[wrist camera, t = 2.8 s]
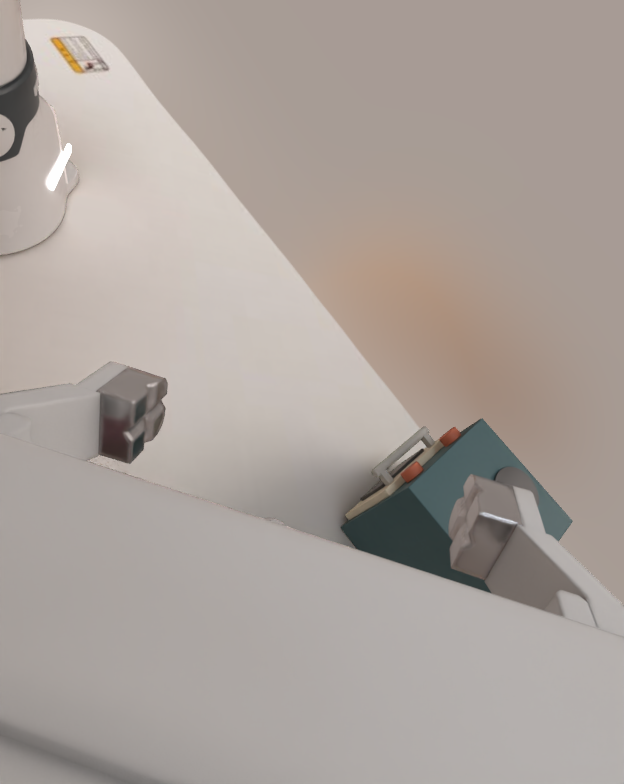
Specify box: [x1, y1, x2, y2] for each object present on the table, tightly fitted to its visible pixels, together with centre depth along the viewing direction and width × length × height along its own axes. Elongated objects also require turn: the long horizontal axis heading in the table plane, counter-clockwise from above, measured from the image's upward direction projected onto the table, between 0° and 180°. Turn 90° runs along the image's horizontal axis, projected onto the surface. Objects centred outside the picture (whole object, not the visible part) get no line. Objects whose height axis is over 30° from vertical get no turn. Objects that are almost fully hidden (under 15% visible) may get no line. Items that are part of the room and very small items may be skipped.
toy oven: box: [341, 419, 572, 593], centre depth 41 cm, size 12×10×12 cm
